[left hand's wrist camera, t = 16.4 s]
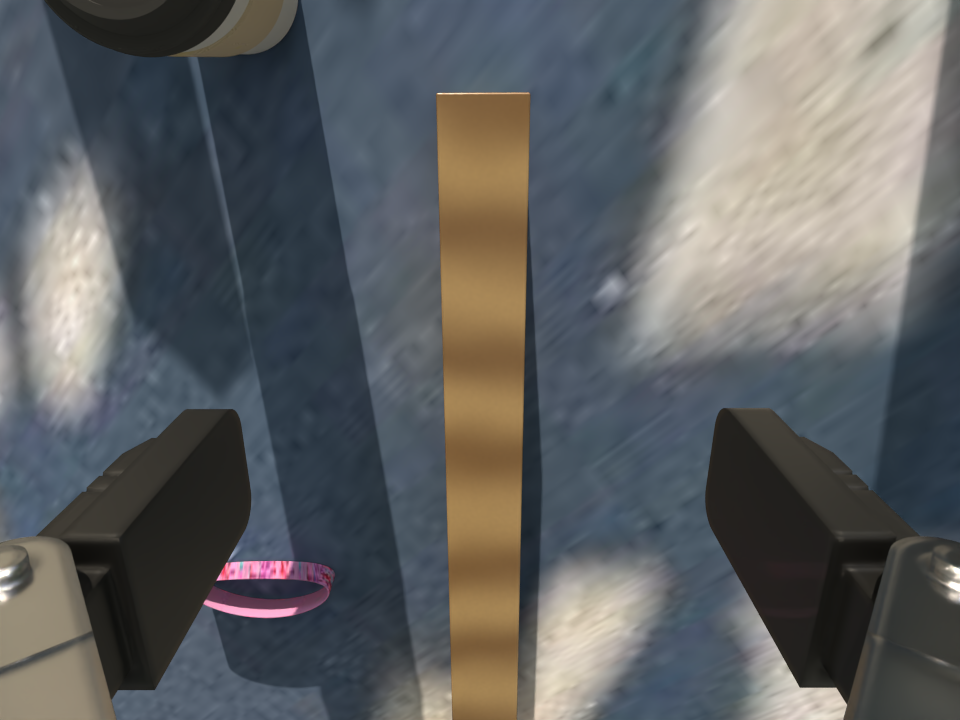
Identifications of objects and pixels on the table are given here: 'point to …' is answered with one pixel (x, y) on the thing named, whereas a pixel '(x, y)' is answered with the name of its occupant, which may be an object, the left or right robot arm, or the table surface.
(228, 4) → the coffee cup
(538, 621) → the table surface
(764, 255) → the table surface
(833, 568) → the left robot arm
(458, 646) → the beam
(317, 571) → the headband
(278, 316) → the table surface
